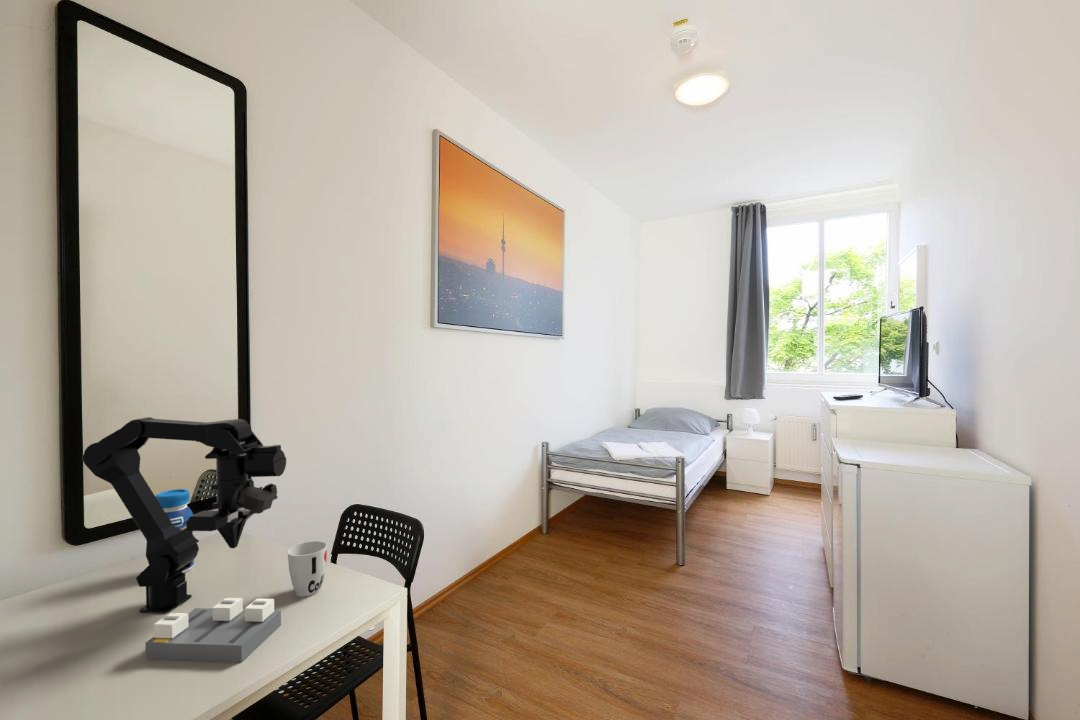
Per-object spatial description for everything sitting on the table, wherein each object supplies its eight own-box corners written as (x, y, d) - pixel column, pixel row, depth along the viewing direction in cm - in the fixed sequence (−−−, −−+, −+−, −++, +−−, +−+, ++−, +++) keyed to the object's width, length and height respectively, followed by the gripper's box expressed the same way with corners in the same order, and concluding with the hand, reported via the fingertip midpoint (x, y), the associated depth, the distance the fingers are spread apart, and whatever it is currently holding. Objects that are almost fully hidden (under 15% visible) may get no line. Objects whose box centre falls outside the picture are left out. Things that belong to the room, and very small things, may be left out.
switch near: (154, 637, 82) (153, 622, 82) (170, 626, 85) (170, 611, 85) (172, 638, 81) (172, 623, 81) (188, 626, 85) (188, 611, 85)
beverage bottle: (158, 567, 116) (157, 490, 116) (198, 560, 120) (197, 485, 120) (146, 582, 109) (144, 499, 108) (189, 574, 112) (188, 494, 112)
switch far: (245, 621, 87) (244, 606, 87) (257, 610, 90) (257, 596, 90) (262, 621, 86) (262, 607, 86) (274, 611, 90) (274, 597, 90)
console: (145, 659, 81) (145, 641, 81) (196, 622, 92) (195, 607, 92) (241, 662, 80) (241, 644, 80) (281, 625, 91) (280, 609, 91)
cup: (311, 602, 99) (310, 557, 99) (279, 598, 101) (279, 554, 101) (335, 583, 107) (334, 542, 107) (305, 580, 109) (304, 539, 109)
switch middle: (212, 620, 87) (212, 606, 87) (226, 610, 90) (226, 596, 90) (229, 620, 87) (229, 606, 87) (242, 610, 90) (242, 596, 90)
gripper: (236, 490, 90) (237, 568, 90) (293, 467, 108) (294, 531, 108) (183, 489, 90) (184, 567, 90) (248, 466, 109) (249, 530, 109)
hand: (233, 547), depth 100 cm, fingers closed
